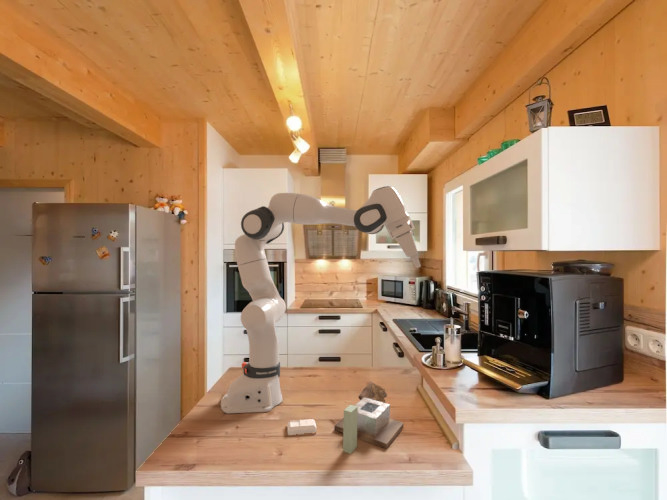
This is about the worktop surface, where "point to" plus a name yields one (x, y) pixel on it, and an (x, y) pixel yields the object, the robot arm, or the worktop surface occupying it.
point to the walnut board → (384, 435)
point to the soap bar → (301, 426)
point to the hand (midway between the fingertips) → (418, 265)
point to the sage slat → (350, 429)
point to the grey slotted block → (372, 416)
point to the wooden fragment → (373, 392)
